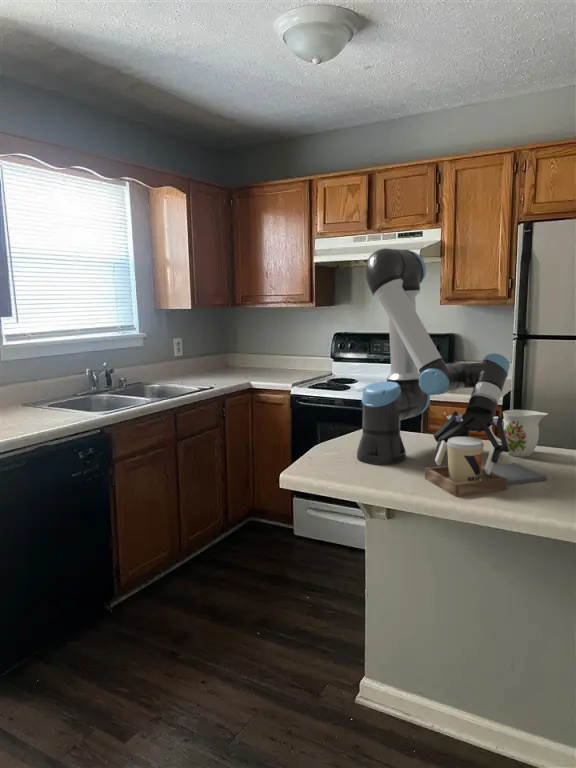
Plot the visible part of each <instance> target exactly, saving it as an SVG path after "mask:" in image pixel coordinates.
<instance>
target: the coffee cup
mask: <svg viewBox="0 0 576 768" xmlns="http://www.w3.org/2000/svg"><path fill="white" fill-rule="evenodd" d="M446 444H447V466H448V470H449V477H448V479H450V480H451V481H453V482H455V483H465V482H472V481H480V480H481V479H480V474H481V467H482V465H483V464H482V463H483V453H484V446H485V444H484V441H483V440H481V438H477V437H473V436H472V437H471V436H469V437H452V438H449V439H448V441H447V443H446Z"/></svg>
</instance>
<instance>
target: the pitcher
mask: <svg viewBox="0 0 576 768" xmlns="http://www.w3.org/2000/svg"><path fill="white" fill-rule="evenodd" d="M502 415H503V416H502V417H503V421H504V428H503V429H504V433H505V437H506V440H507V444H508V448H509V451H508V452H507V454H508V455H510V456H512V457H513V456H514V457H529V456H531V454H532V453H533V452H534V451H535V448H537V445H538V442H539V437H540V427H539V423H540V421H541V420H542V418H544V417H546V416H548V415H549V413H548V412H542V411H541V412H540V411H535V410H528V409H527V410H525V409H509V410H508V409H507V410H504V411H502ZM498 417H499V416H494V417H493V418H498ZM488 428H489V429H490V431H491V433H492V434H493V436H494V438H495V439H496V441H497V443H498V444H499V445H502V443H501V439H500V438H498V437H497V436H496V435H495V433H494V432H493V424H492V425H491V426H490V427H488Z"/></svg>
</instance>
